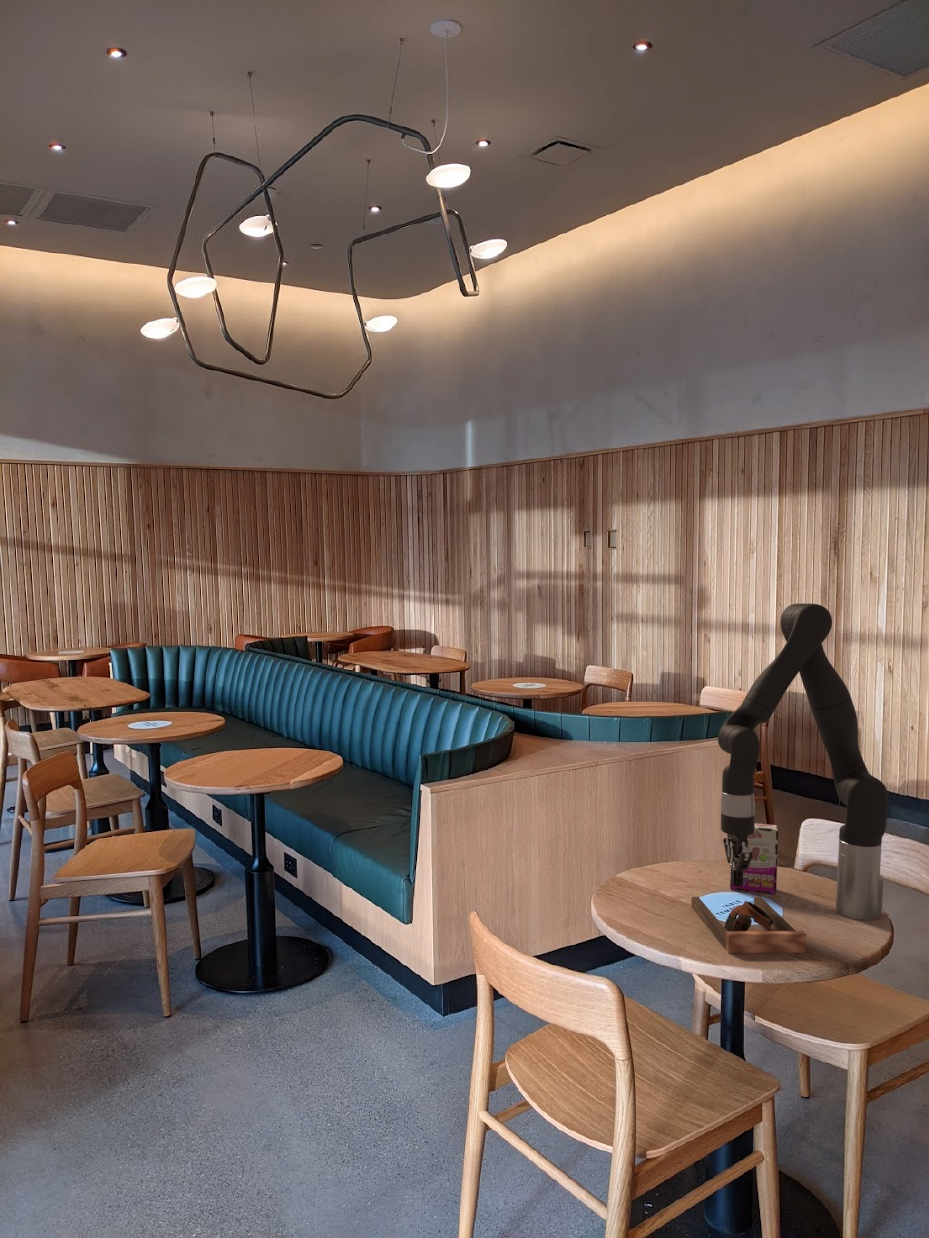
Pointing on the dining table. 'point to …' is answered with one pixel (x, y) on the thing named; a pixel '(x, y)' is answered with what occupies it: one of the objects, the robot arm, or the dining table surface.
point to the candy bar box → (761, 861)
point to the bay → (754, 932)
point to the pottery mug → (747, 918)
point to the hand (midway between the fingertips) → (737, 884)
